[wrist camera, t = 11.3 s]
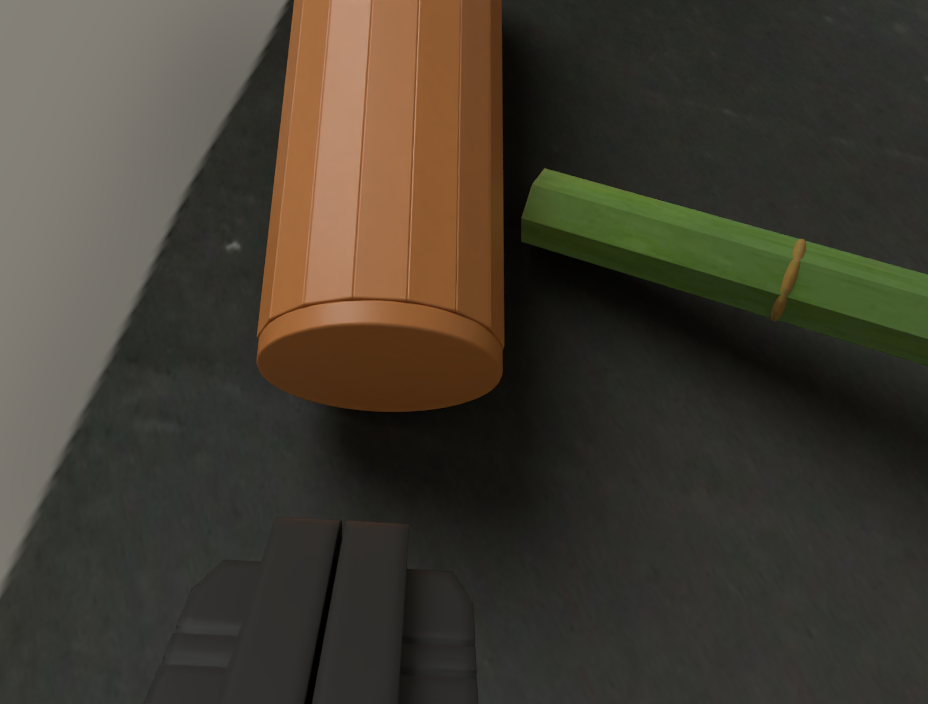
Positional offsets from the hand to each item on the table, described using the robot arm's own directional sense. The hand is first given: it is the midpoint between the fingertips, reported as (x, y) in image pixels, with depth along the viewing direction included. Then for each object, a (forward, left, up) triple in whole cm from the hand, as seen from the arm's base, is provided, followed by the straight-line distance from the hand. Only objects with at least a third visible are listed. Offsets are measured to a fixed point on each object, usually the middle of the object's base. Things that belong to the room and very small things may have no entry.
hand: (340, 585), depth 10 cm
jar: (+5, +2, -9) cm, 11 cm away
